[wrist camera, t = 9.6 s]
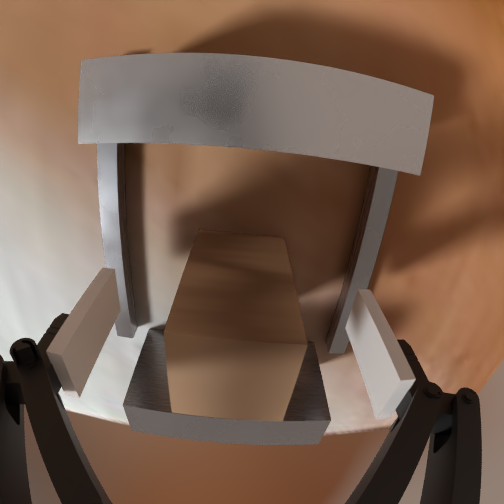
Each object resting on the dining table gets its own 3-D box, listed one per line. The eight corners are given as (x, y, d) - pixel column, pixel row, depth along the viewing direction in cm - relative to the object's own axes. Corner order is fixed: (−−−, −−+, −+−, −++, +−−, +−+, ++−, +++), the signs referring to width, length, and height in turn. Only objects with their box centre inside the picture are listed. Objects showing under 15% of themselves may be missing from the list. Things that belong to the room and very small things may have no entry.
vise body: (109, 65, 14) (36, 56, 8) (401, 94, 15) (477, 100, 9) (128, 353, 23) (102, 424, 17) (330, 369, 24) (348, 441, 18)
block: (196, 299, 21) (171, 412, 13) (198, 229, 18) (163, 332, 10) (271, 306, 21) (282, 421, 13) (284, 237, 19) (307, 344, 11)
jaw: (143, 71, 14) (81, 60, 8) (367, 93, 15) (434, 95, 9) (140, 124, 16) (78, 143, 9) (359, 145, 16) (420, 175, 10)
